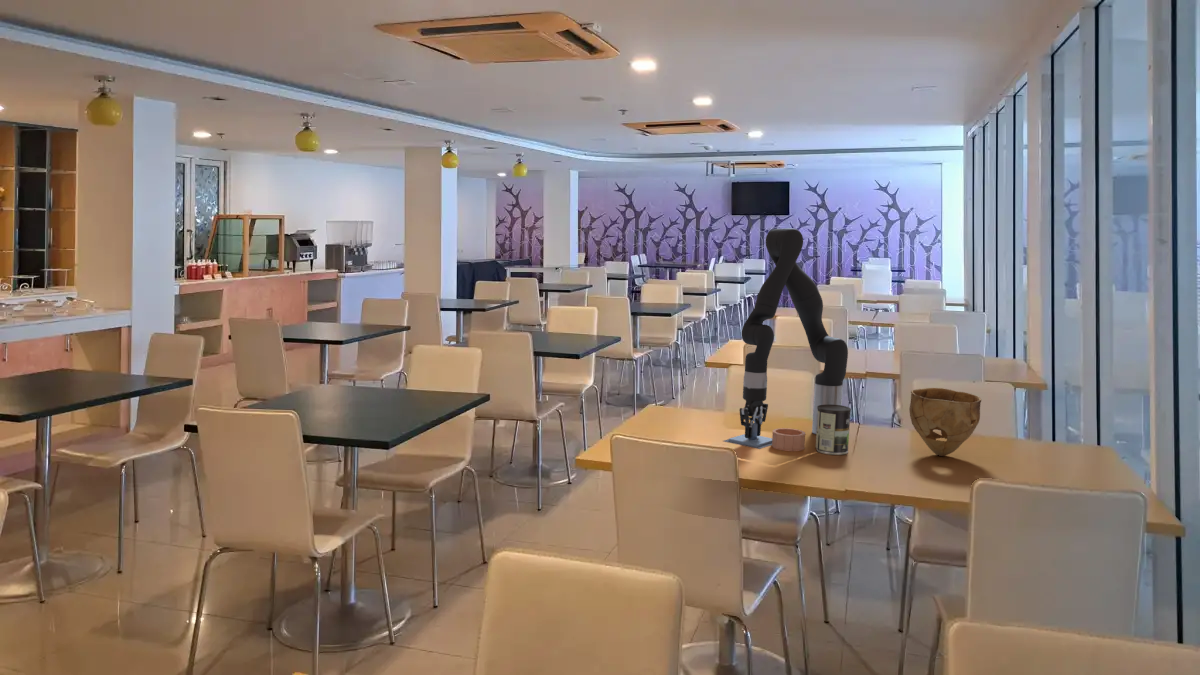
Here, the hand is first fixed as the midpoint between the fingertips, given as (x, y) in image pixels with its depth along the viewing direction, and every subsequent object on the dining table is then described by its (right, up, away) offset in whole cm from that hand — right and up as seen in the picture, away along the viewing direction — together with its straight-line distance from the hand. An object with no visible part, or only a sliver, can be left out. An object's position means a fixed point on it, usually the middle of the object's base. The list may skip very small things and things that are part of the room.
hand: (752, 436), depth 303 cm
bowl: (+58, -5, -10) cm, 59 cm away
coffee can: (+24, -4, -7) cm, 25 cm away
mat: (0, -2, 0) cm, 2 cm away
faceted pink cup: (+10, -3, -6) cm, 12 cm away
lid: (0, -2, 0) cm, 2 cm away
